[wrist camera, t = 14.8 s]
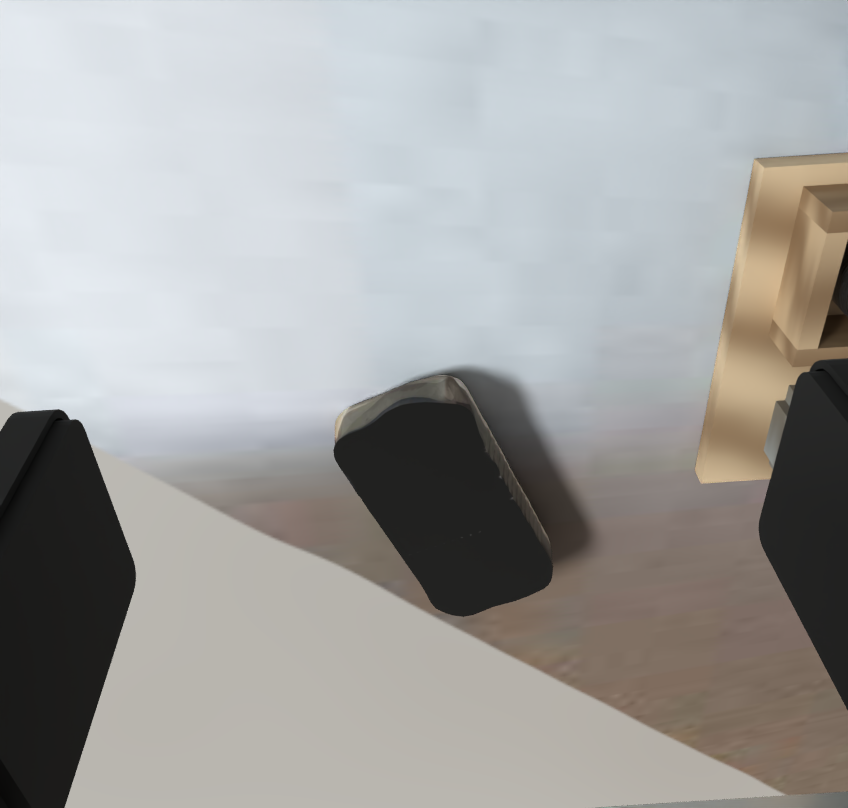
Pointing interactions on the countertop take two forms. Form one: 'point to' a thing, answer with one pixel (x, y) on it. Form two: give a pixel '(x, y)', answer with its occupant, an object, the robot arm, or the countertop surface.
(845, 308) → the bottle
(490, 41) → the countertop surface
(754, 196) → the holder
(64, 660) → the robot arm
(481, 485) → the black sponge
